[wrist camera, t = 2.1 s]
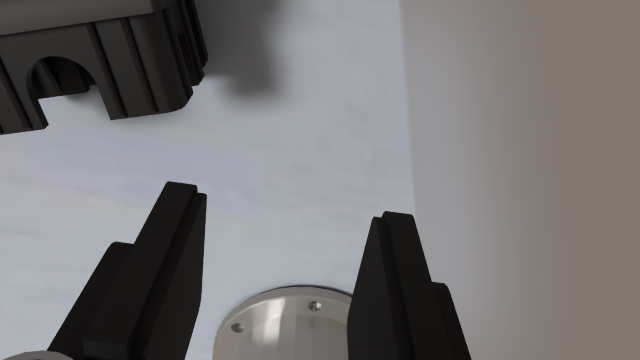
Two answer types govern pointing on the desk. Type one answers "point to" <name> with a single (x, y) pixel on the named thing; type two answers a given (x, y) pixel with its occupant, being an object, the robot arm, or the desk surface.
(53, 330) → the desk surface
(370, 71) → the desk surface
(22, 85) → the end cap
